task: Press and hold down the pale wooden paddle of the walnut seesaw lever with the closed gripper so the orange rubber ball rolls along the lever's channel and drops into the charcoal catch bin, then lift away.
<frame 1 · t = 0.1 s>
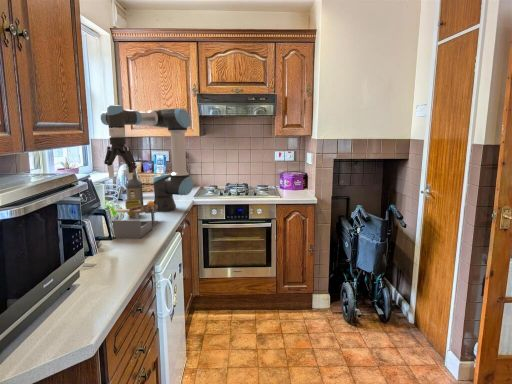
hand: (120, 178, 185), 28 cm above the countertop, tool pointing down, fingers open, 13 cm apart
ball: (150, 204, 209), point 10 cm above the countertop, tilted 6°, touching lever
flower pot: (133, 216, 222), on the countertop
catch bin: (132, 233, 184), on the countertop
lever: (136, 209, 200), point 9 cm above the countertop, hinge at -8.0°, touching ball
liquor: (135, 208, 243), on the countertop
lever stand: (145, 224, 202), on the countertop
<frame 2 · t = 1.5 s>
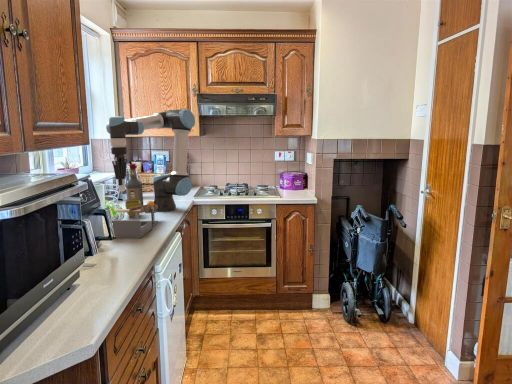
hand: (122, 191, 193), 20 cm above the countertop, tool pointing down, fingers closed
nothing on the countertop moved.
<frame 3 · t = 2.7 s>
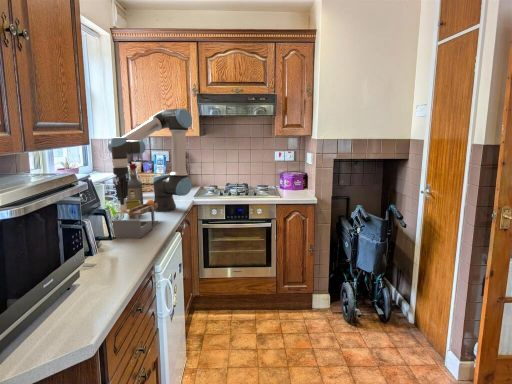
hand: (123, 210, 195), 10 cm above the countertop, tool pointing down, fingers closed
lever: (136, 209, 201), point 9 cm above the countertop, hinge at -3.4°, touching ball, gripper
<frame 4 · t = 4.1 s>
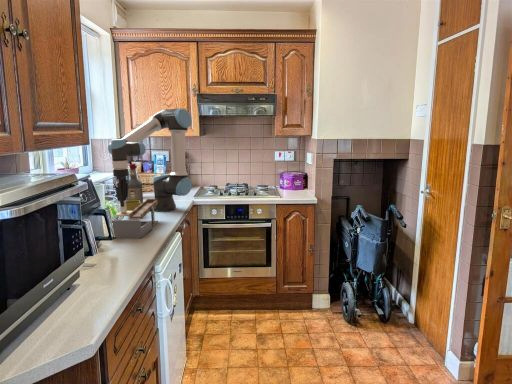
hand: (123, 212, 195), 9 cm above the countertop, tool pointing down, fingers closed
ball: (128, 230, 180), point 3 cm above the countertop, tilted 130°, touching catch bin
lever: (136, 209, 201), point 9 cm above the countertop, hinge at 6.5°, touching gripper
everything else where it was.
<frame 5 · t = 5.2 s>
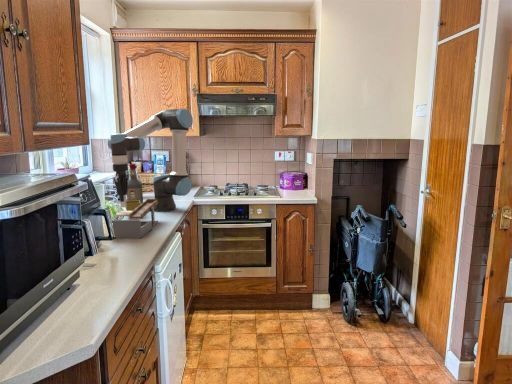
hand: (123, 207, 195), 11 cm above the countertop, tool pointing down, fingers closed
ball: (129, 230, 181), point 3 cm above the countertop, tilted 155°, touching catch bin
lever: (136, 209, 201), point 9 cm above the countertop, hinge at 6.5°
everything else where it was.
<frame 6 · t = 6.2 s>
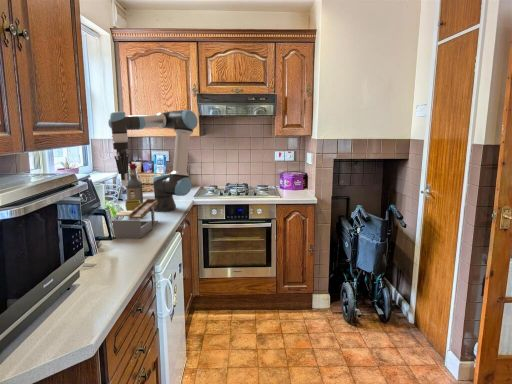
hand: (124, 185, 195), 23 cm above the countertop, tool pointing down, fingers closed
ball: (130, 230, 181), point 3 cm above the countertop, tilted 177°, touching catch bin
everything else where it was.
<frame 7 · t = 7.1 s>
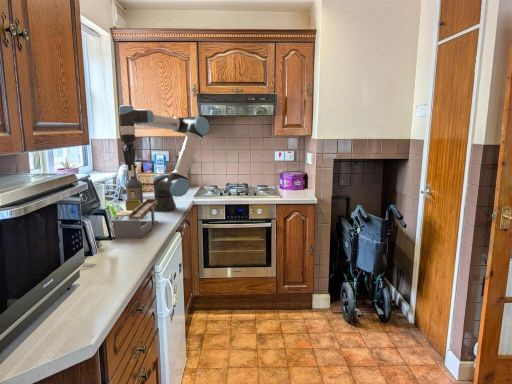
hand: (131, 176, 204), 26 cm above the countertop, tool pointing down, fingers closed
ball: (130, 229, 182), point 3 cm above the countertop, tilted 163°, touching catch bin
everything else where it was.
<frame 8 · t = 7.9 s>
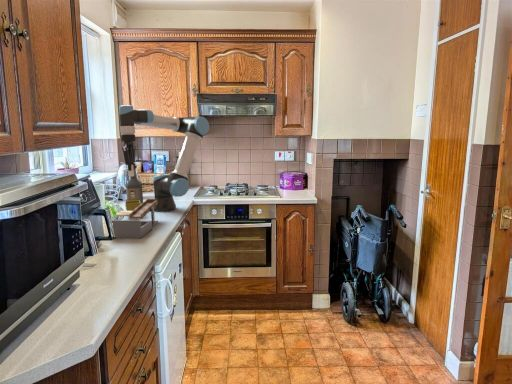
hand: (131, 176, 204), 26 cm above the countertop, tool pointing down, fingers closed
ball: (131, 229, 183), point 3 cm above the countertop, tilted 145°, touching catch bin
everything else where it was.
at the end: ball inside the target area on the catch bin (1.1 cm from its centre), point 2.8 cm above the catch bin's base; ball touching catch bin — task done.
